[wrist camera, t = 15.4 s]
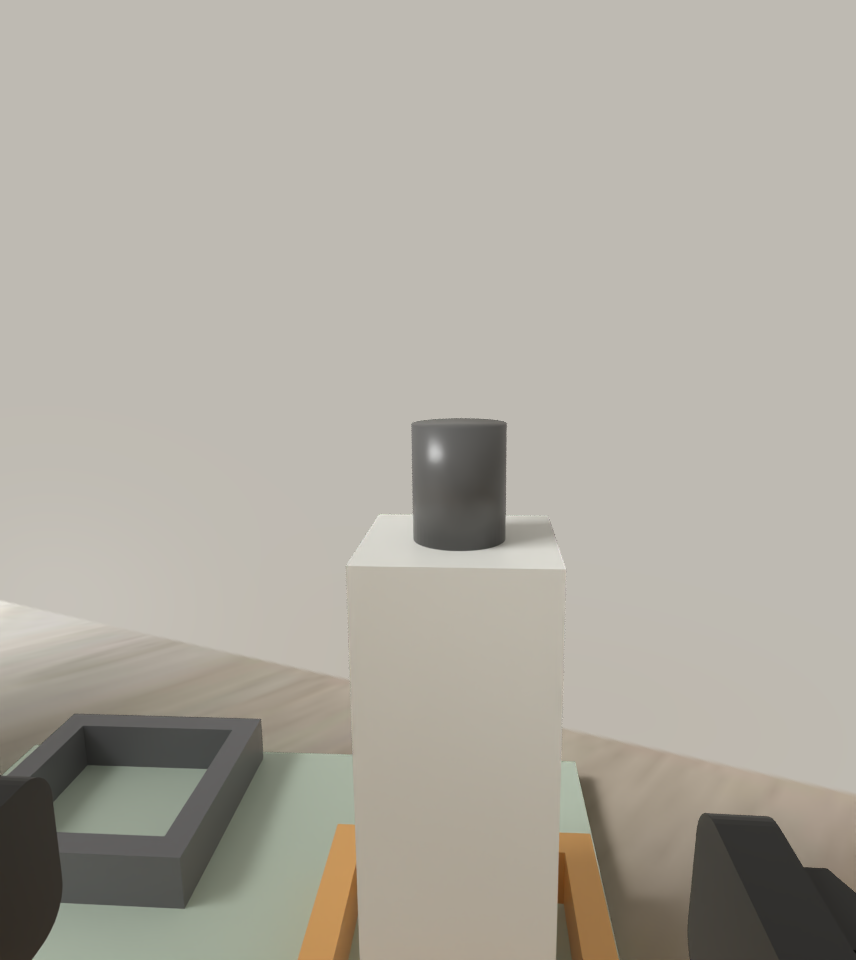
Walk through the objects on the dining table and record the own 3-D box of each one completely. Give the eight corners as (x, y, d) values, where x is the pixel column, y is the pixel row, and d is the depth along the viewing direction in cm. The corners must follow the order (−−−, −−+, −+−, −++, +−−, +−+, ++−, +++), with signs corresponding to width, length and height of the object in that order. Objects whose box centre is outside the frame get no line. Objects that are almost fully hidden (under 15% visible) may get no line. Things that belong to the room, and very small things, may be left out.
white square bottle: (363, 1067, 19) (341, 436, 16) (389, 918, 24) (376, 414, 21) (552, 1082, 18) (569, 435, 15) (539, 927, 23) (550, 413, 20)
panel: (-373, 1153, 18) (-400, 1055, 17) (37, 763, 35) (30, 707, 34) (672, 1236, 16) (680, 1129, 15) (574, 781, 33) (576, 721, 32)
